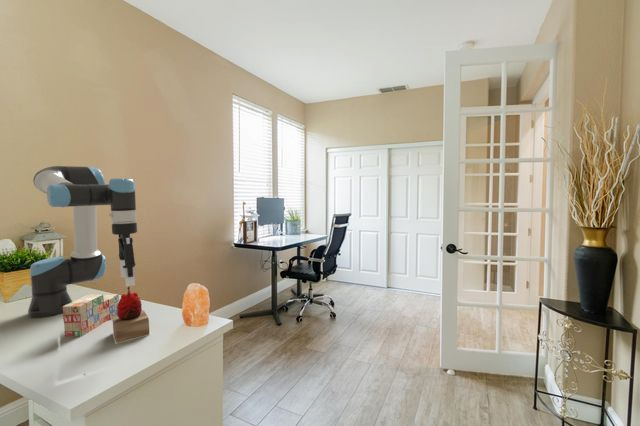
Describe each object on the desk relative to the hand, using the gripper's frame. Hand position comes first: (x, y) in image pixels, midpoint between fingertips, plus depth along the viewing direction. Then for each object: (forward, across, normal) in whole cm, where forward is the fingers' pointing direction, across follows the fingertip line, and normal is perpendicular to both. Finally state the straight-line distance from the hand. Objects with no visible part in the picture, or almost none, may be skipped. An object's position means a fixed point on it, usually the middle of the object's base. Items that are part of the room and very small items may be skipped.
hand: (127, 281), depth 112 cm
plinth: (+19, +1, 0) cm, 19 cm away
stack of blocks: (+21, -19, -10) cm, 30 cm away
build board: (+20, +1, -1) cm, 20 cm away
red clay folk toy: (+13, 0, 0) cm, 13 cm away
